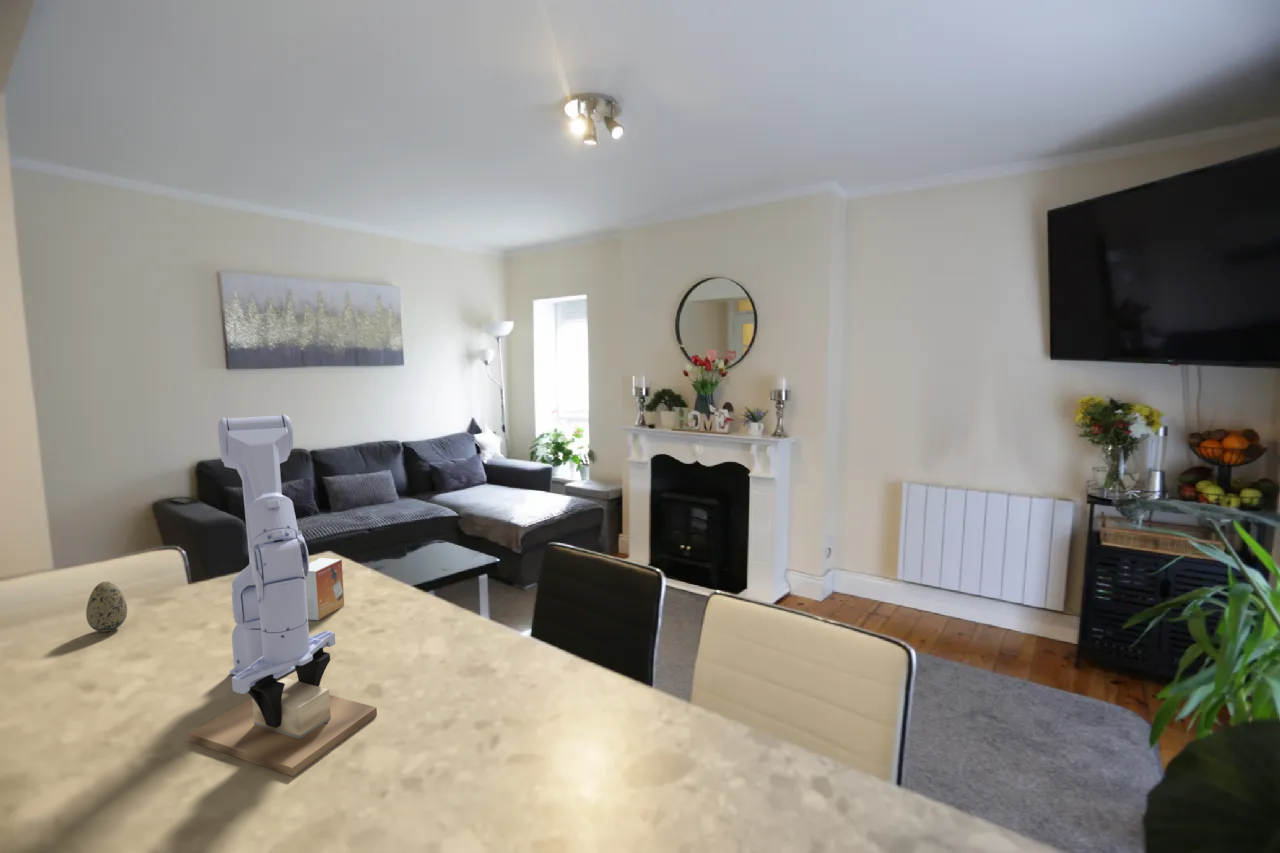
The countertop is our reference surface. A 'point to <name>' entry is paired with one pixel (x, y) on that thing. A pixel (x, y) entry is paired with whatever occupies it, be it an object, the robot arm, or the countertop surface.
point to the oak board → (280, 736)
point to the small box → (324, 587)
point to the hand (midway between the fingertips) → (291, 713)
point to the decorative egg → (106, 607)
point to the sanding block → (298, 709)
